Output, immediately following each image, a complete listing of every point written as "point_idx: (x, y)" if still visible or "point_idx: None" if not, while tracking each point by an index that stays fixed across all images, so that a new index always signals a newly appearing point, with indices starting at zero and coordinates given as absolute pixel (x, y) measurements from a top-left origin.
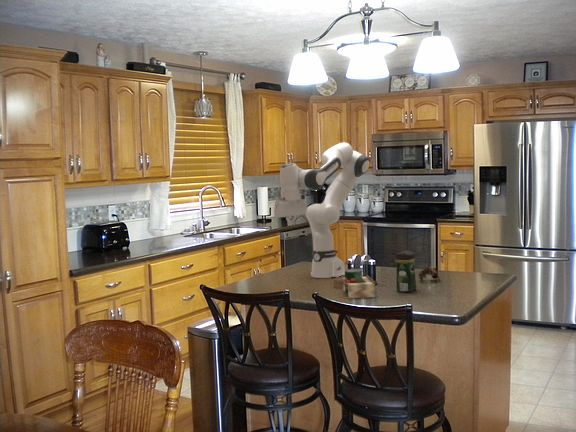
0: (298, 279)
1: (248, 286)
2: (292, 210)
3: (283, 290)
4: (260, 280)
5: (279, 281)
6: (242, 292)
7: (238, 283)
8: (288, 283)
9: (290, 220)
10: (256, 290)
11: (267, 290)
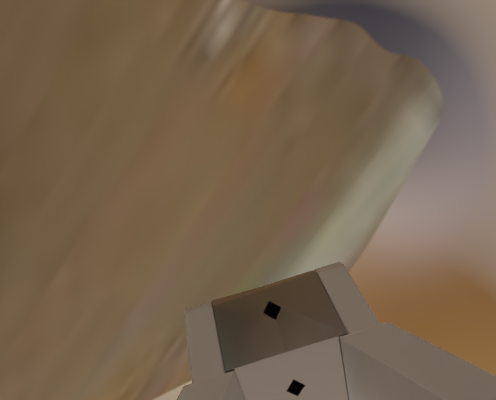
0: (4, 238)
1: (313, 235)
2: None
3: (257, 9)
4: None
5: (126, 251)
6: (425, 128)
7: None
8: (115, 175)
9: (405, 359)
10: (353, 124)
11: (317, 82)
